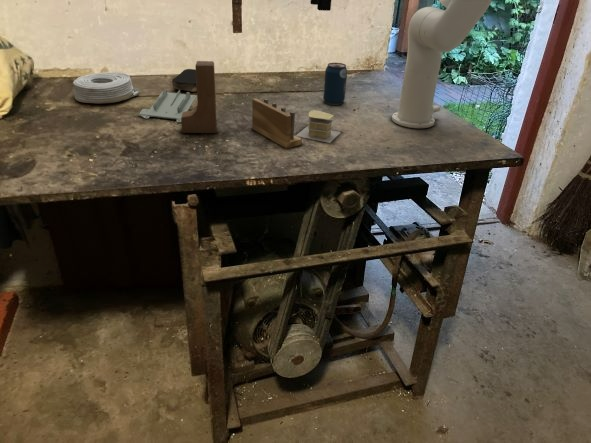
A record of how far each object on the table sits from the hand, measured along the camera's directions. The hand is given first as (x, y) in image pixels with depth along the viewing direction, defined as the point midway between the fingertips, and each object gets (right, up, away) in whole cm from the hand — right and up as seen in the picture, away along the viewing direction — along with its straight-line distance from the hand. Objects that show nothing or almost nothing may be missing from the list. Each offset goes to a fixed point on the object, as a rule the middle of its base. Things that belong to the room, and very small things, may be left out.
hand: (320, 7), depth 121 cm
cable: (-66, -15, +30) cm, 74 cm away
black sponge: (-42, -7, +45) cm, 62 cm away
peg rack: (-11, -31, +9) cm, 34 cm away
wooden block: (-32, -29, +10) cm, 45 cm away
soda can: (+6, -15, +37) cm, 40 cm away
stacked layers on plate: (0, -30, +12) cm, 32 cm away
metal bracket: (-42, -22, +21) cm, 52 cm away
